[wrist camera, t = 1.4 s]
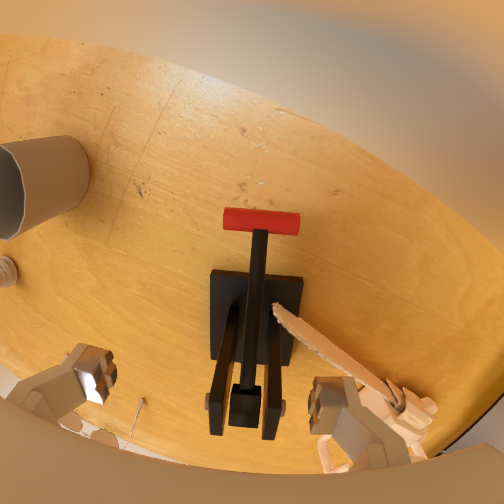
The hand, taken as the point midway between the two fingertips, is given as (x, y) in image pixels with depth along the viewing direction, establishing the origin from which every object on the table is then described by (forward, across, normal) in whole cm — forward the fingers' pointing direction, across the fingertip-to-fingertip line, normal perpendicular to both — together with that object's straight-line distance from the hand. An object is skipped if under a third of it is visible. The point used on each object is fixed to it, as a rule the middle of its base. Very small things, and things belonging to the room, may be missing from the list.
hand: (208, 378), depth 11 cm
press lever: (+11, -1, +4) cm, 12 cm away
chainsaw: (+19, -14, +21) cm, 31 cm away
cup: (+19, +21, -5) cm, 28 cm away
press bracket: (+19, -2, +10) cm, 21 cm away
